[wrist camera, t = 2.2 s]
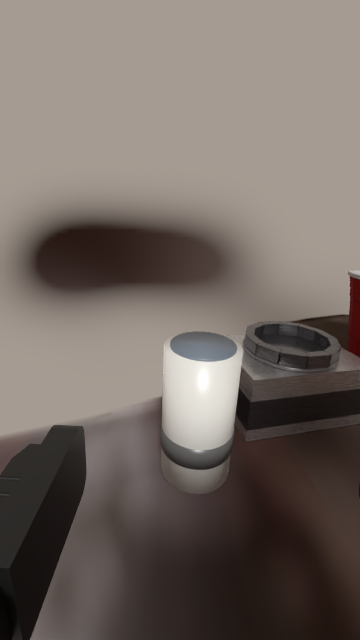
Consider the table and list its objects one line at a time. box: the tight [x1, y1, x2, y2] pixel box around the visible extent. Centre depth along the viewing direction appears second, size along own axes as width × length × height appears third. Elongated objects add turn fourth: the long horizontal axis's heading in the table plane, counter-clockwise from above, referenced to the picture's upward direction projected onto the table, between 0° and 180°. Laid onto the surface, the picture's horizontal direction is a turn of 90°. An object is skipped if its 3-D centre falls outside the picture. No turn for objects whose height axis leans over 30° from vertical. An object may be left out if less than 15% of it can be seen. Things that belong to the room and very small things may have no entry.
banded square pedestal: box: [227, 321, 360, 442], centre depth 31 cm, size 12×9×8 cm
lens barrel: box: [161, 332, 243, 494], centre depth 22 cm, size 5×5×10 cm
